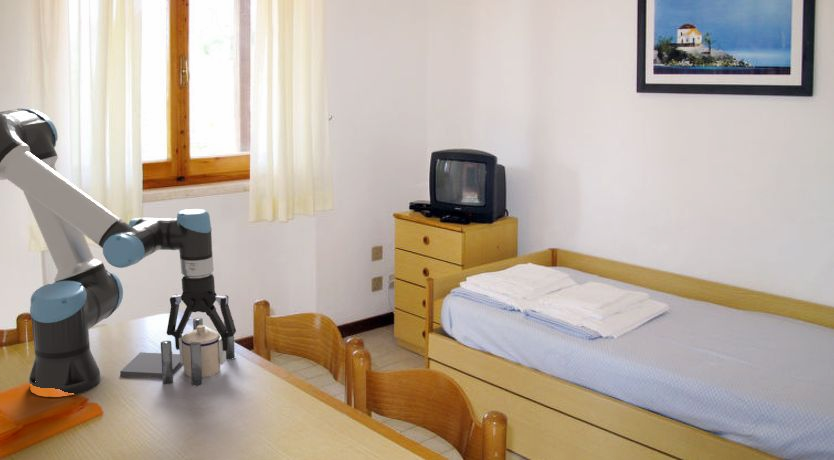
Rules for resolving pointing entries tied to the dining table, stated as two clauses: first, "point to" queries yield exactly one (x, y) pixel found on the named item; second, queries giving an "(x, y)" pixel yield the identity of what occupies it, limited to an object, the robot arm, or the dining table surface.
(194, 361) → the post front right
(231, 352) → the post back right
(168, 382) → the post front left
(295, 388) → the dining table surface
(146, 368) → the coaster
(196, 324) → the post back left
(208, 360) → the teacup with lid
